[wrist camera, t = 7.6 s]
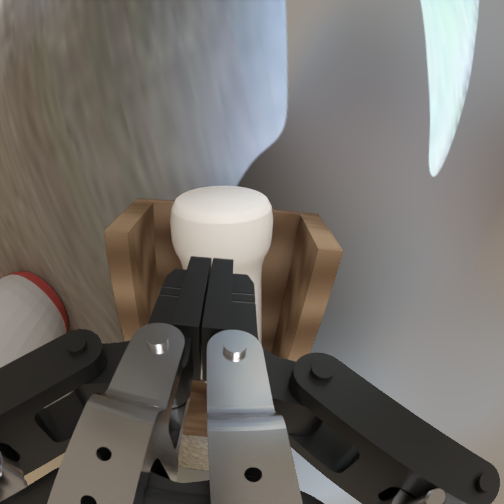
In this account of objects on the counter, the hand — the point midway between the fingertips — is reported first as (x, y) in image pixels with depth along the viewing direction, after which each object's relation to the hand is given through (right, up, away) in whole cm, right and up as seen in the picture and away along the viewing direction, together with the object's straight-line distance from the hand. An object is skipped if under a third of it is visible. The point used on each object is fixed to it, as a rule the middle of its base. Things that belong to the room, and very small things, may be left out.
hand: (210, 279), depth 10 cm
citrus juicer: (-30, -7, +22) cm, 38 cm away
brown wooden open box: (-3, -9, +24) cm, 26 cm away
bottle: (-1, +5, +11) cm, 12 cm away
